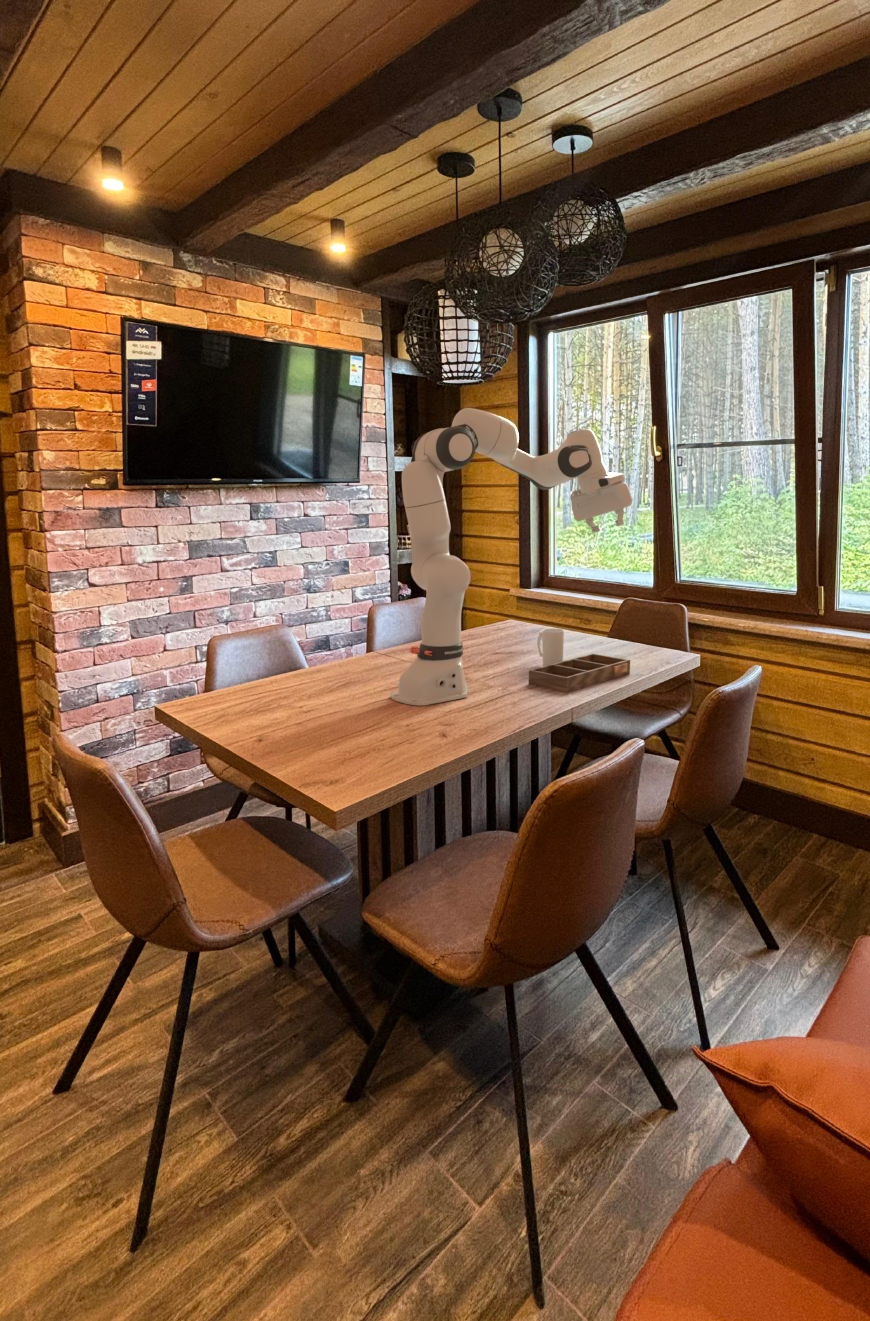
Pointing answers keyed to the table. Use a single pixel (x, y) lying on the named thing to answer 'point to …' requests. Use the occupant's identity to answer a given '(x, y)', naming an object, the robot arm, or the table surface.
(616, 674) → the tray
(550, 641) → the mug
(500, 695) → the table surface
